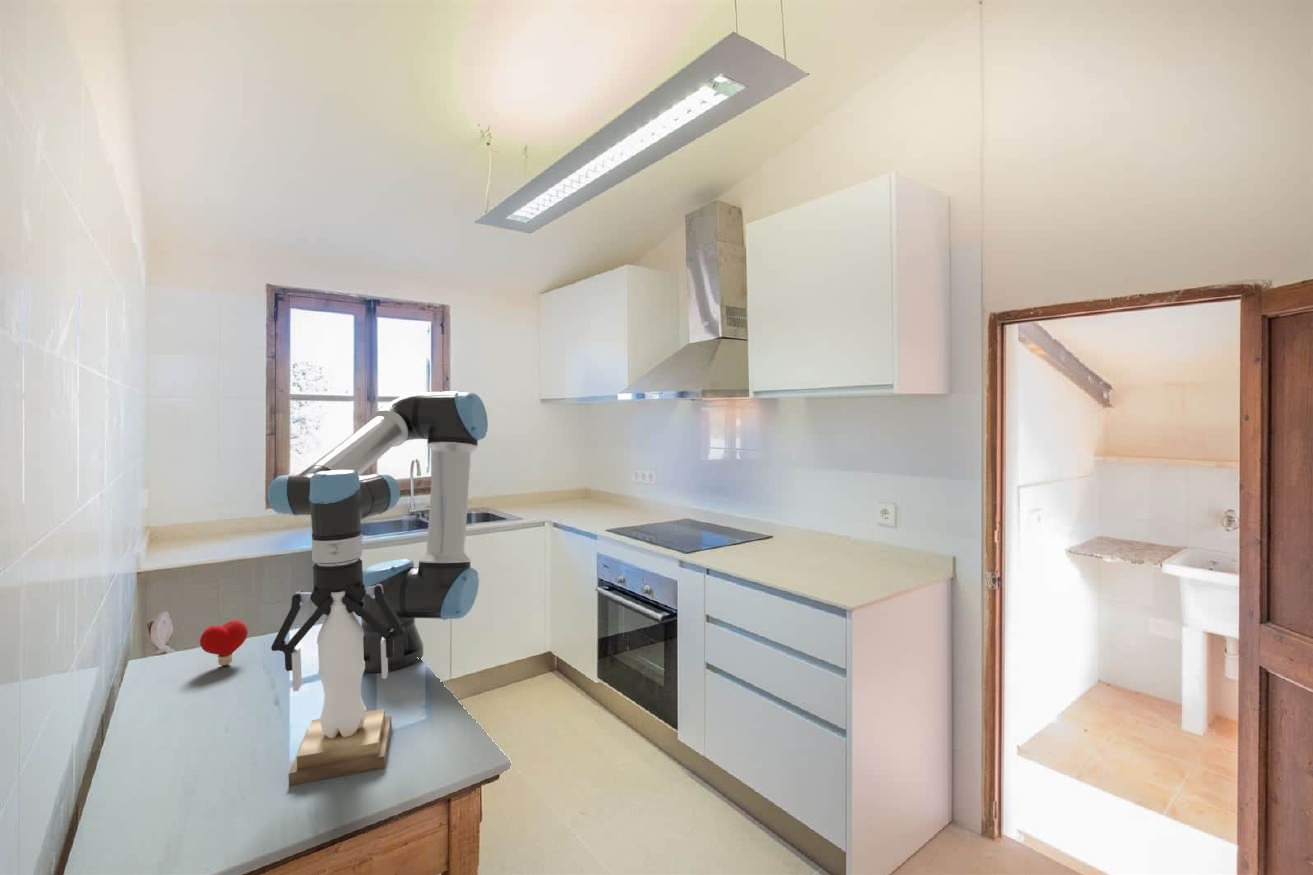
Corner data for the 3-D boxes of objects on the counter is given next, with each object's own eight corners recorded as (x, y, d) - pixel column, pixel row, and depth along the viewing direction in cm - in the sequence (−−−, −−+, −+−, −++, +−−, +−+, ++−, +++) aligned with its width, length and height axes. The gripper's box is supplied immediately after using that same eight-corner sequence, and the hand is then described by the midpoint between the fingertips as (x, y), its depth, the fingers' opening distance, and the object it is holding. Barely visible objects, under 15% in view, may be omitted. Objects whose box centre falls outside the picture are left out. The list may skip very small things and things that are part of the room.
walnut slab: (307, 739, 110) (307, 729, 110) (391, 725, 114) (391, 715, 114) (288, 785, 97) (288, 773, 96) (384, 767, 101) (384, 756, 101)
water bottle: (358, 715, 110) (354, 581, 109) (373, 730, 105) (368, 589, 104) (315, 730, 105) (309, 590, 104) (328, 747, 100) (322, 599, 99)
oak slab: (312, 730, 109) (312, 720, 109) (385, 719, 113) (384, 708, 113) (297, 768, 98) (296, 756, 98) (378, 754, 102) (377, 742, 102)
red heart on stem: (242, 655, 147) (240, 615, 146) (254, 662, 143) (252, 621, 142) (196, 669, 140) (194, 626, 139) (207, 677, 135) (205, 633, 135)
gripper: (246, 573, 96) (252, 703, 97) (414, 559, 104) (418, 679, 105) (259, 562, 103) (265, 683, 104) (416, 549, 111) (420, 662, 112)
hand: (342, 681), depth 105 cm, fingers open, 13 cm apart
